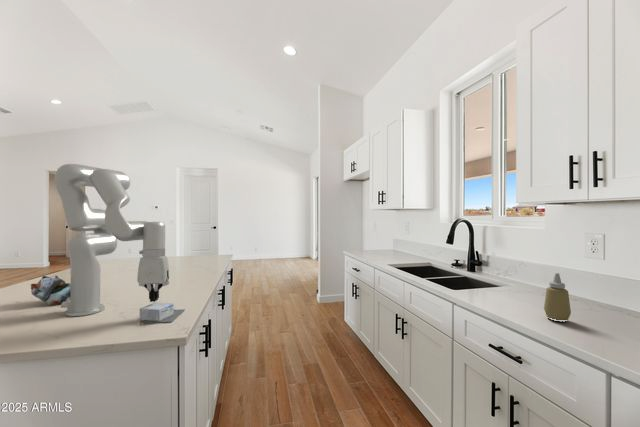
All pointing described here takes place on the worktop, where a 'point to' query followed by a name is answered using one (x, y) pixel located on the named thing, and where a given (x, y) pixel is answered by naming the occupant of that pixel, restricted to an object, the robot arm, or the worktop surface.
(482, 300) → the worktop surface
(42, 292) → the blue crumpled lump
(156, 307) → the medicine box
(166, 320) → the mat
